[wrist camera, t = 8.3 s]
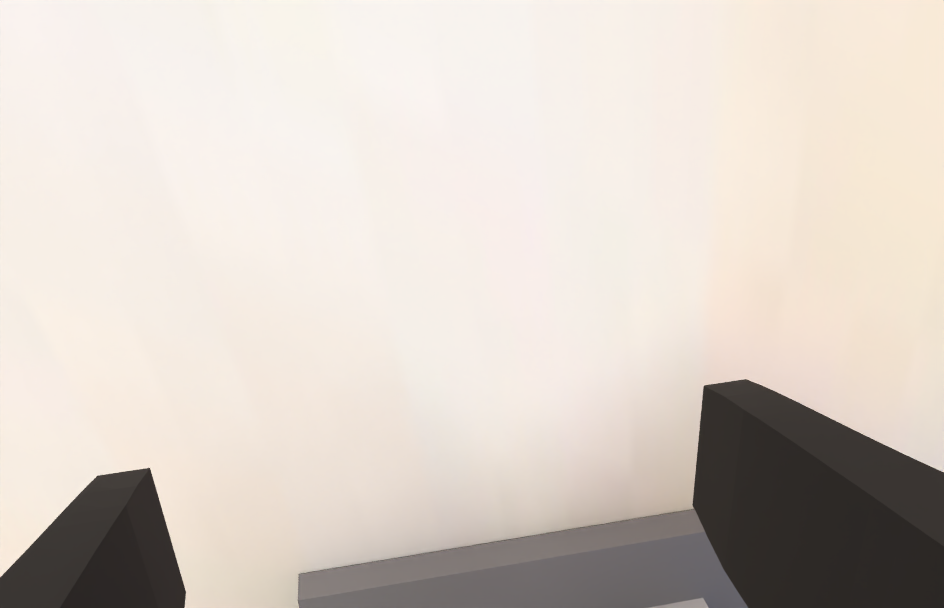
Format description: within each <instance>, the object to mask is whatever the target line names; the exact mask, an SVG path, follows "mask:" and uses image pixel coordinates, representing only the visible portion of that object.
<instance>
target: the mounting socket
mask: <svg viewBox="0 0 944 608" xmlns="http://www.w3.org/2000/svg"><path fill="white" fill-rule="evenodd" d="M298 603H299V608H748V607H747V605H746V604H745V602H744V601H743V599H742V597H741V596H740V594H739V593H738V591H737V590H736V588H735V587H734V585H733V584H732V582H731V580H730V579H729V577H728V576H727V574H726V572H725V571H724V569H723V567H722V565H721V563H720V561H719V559H718V557H717V555H716V553H715V551H714V549H713V547H712V545H711V543H710V541H709V539H708V537H707V535H706V533H705V531H704V528H703V526H702V524H701V522H700V520H699V518H698V515H697V513H696V511H695V509H693V510H687V511H681V512H674V513H668V514H662V515H656V516H650V517H644V518H638V519H632V520H626V521H620V522H614V523H607V524H601V525H595V526H589V527H583V528H577V529H571V530H565V531H559V532H553V533H547V534H540V535H534V536H528V537H522V538H516V539H510V540H504V541H498V542H492V543H486V544H480V545H474V546H467V547H461V548H455V549H449V550H443V551H437V552H431V553H425V554H419V555H413V556H407V557H400V558H394V559H388V560H382V561H376V562H370V563H364V564H358V565H352V566H346V567H340V568H334V569H327V570H321V571H315V572H309V573H303V574H299V582H298Z"/></svg>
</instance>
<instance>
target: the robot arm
mask: <svg viewBox="0 0 944 608" xmlns="http://www.w3.org/2000/svg"><path fill="white" fill-rule="evenodd" d="M693 507H694V509H695V511H696V513H697V515H698V518H699V520H700V522H701V524H702V526H703V528H704V531H705V533H706V535H707V537H708V539H709V541H710V543H711V545H712V547H713V549H714V551H715V553H716V555H717V557H718V559H719V561H720V563H721V565H722V567H723V569H724V571H725V572H726V574H727V576H728V577H729V579H730V580H731V582H732V584H733V585H734V587H735V588H736V590H737V591H738V593H739V594H740V596H741V597H742V599H743V601H744V602H745V604H746V605H747V607H748V608H944V472H941V471H939V470H937V469H935V468H932V467H930V466H928V465H926V464H924V463H922V462H919V461H917V460H915V459H913V458H911V457H909V456H906V455H904V454H902V453H900V452H898V451H896V450H894V449H892V448H890V447H887V446H885V445H883V444H881V443H879V442H877V441H875V440H873V439H871V438H869V437H867V436H865V435H863V434H861V433H859V432H857V431H855V430H853V429H850V428H848V427H846V426H844V425H842V424H840V423H838V422H836V421H834V420H832V419H830V418H828V417H826V416H824V415H822V414H820V413H818V412H816V411H814V410H812V409H810V408H808V407H806V406H804V405H802V404H800V403H798V402H796V401H794V400H792V399H790V398H787V397H785V396H783V395H781V394H779V393H777V392H775V391H773V390H770V389H768V388H766V387H764V386H761V385H759V384H756V383H754V382H751V381H749V380H746V379H745V380H738V381H731V382H725V383H718V384H711V385H705V386H704V389H703V400H702V411H701V421H700V432H699V443H698V453H697V464H696V475H695V485H694V496H693ZM185 595H186V591H185V588H184V584H183V581H182V577H181V574H180V570H179V567H178V564H177V560H176V557H175V553H174V550H173V546H172V543H171V539H170V536H169V532H168V529H167V526H166V522H165V519H164V515H163V512H162V508H161V505H160V501H159V498H158V494H157V491H156V488H155V484H154V481H153V477H152V474H151V470H150V468H147V469H140V470H133V471H126V472H120V473H113V474H106V475H100V476H97V477H96V478H95V479H94V480H93V481H92V482H91V483H90V484H89V485H88V486H87V487H86V488H85V489H84V490H83V491H82V492H81V493H80V494H79V495H78V496H77V497H76V498H75V499H74V500H73V501H72V502H71V503H70V505H69V506H68V507H67V508H66V509H65V510H64V511H63V512H62V513H61V514H60V515H59V516H58V517H57V518H56V519H55V521H54V522H53V523H52V524H51V525H50V526H49V527H48V528H47V529H46V530H45V531H44V532H43V533H42V534H41V536H40V537H39V538H38V539H37V540H36V541H35V542H34V543H33V544H32V545H31V546H30V547H29V548H28V549H27V550H26V551H25V552H24V553H23V555H22V556H21V557H20V558H19V559H18V560H17V561H16V562H15V563H14V564H13V565H12V566H11V567H10V568H9V569H8V570H7V571H6V572H5V573H4V574H3V575H2V576H1V577H0V608H184V607H185Z"/></svg>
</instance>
